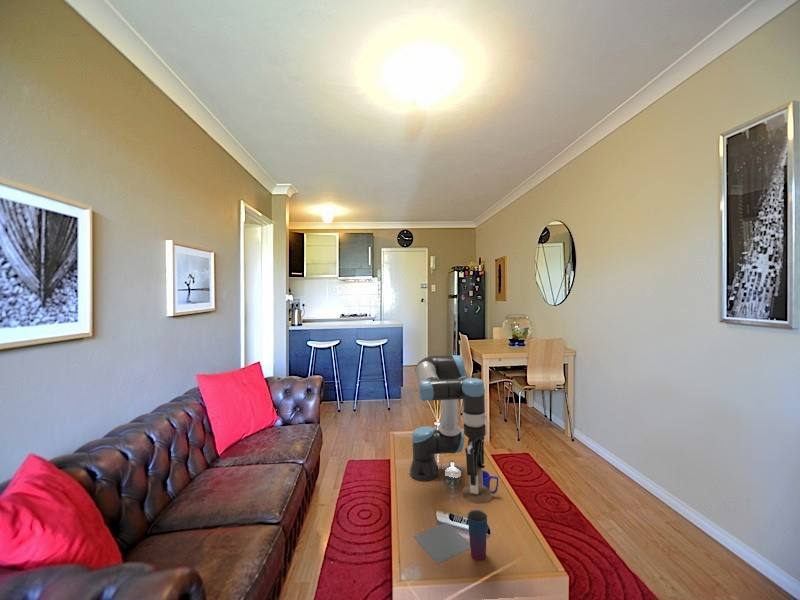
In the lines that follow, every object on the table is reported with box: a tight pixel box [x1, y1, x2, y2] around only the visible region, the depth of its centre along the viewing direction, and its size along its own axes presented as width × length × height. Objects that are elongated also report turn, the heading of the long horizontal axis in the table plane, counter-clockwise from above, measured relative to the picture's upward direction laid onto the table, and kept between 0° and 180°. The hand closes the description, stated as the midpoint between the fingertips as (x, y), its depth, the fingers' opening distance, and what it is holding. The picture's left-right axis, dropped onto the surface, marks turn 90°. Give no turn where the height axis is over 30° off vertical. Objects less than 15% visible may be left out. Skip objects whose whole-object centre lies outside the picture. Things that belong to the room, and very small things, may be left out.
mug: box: [482, 469, 499, 495], centre depth 157 cm, size 8×12×10 cm
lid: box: [461, 467, 492, 505], centre depth 120 cm, size 10×10×9 cm
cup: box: [467, 509, 488, 562], centre depth 120 cm, size 7×7×15 cm
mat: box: [412, 523, 471, 565], centre depth 128 cm, size 16×16×1 cm
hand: (476, 489), depth 120 cm, fingers closed on lid, 4 cm apart
